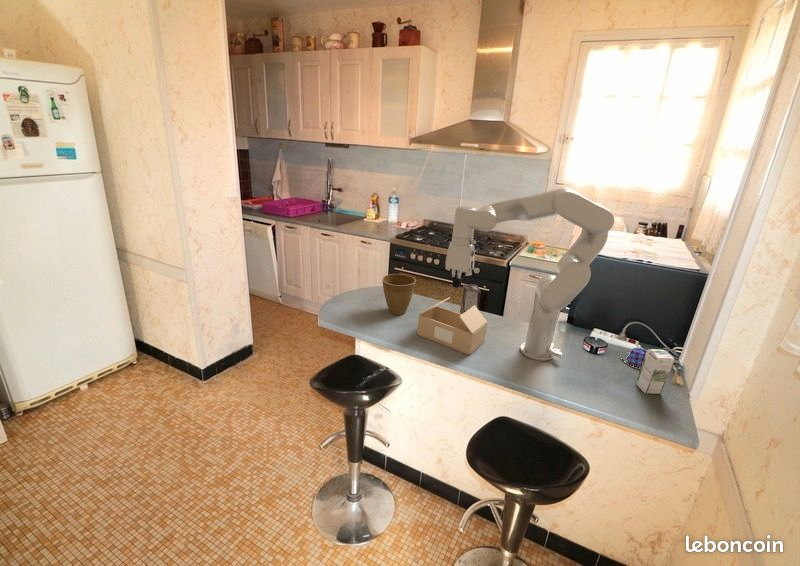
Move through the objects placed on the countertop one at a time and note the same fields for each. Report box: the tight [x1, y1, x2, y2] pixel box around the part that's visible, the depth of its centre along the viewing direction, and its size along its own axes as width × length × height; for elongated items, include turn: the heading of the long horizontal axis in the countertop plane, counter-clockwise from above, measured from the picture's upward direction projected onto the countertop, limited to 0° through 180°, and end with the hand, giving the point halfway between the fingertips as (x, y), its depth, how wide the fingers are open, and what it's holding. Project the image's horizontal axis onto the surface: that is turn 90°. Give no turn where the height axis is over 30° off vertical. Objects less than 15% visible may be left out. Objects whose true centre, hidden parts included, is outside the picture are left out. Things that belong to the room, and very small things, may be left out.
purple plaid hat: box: [620, 347, 647, 370], centre depth 149 cm, size 12×12×5 cm
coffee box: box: [459, 283, 482, 314], centre depth 171 cm, size 9×6×16 cm
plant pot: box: [381, 273, 417, 316], centre depth 176 cm, size 15×15×16 cm
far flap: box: [418, 297, 451, 316], centre depth 158 cm, size 8×13×1 cm
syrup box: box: [635, 348, 675, 395], centre depth 131 cm, size 6×6×14 cm
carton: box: [416, 305, 488, 356], centre depth 156 cm, size 24×13×9 cm, turn 54°
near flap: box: [459, 305, 488, 334], centre depth 149 cm, size 8×13×1 cm
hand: (456, 286), depth 150 cm, fingers closed
